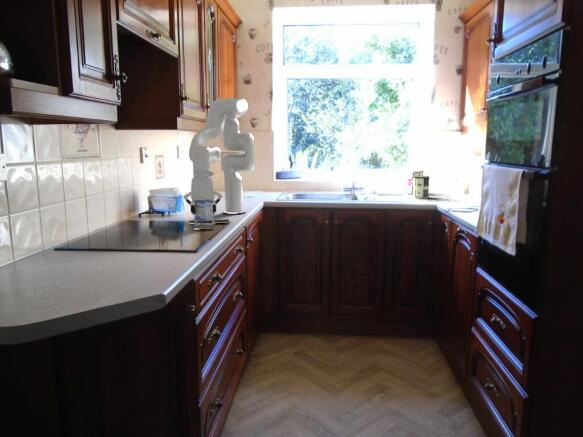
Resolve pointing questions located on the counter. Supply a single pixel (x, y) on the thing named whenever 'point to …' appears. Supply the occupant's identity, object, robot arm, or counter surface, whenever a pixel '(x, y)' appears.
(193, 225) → the grey shallow tray
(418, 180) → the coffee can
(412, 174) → the candy bar box
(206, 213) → the medicine box
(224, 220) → the door-edge strip
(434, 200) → the counter surface
